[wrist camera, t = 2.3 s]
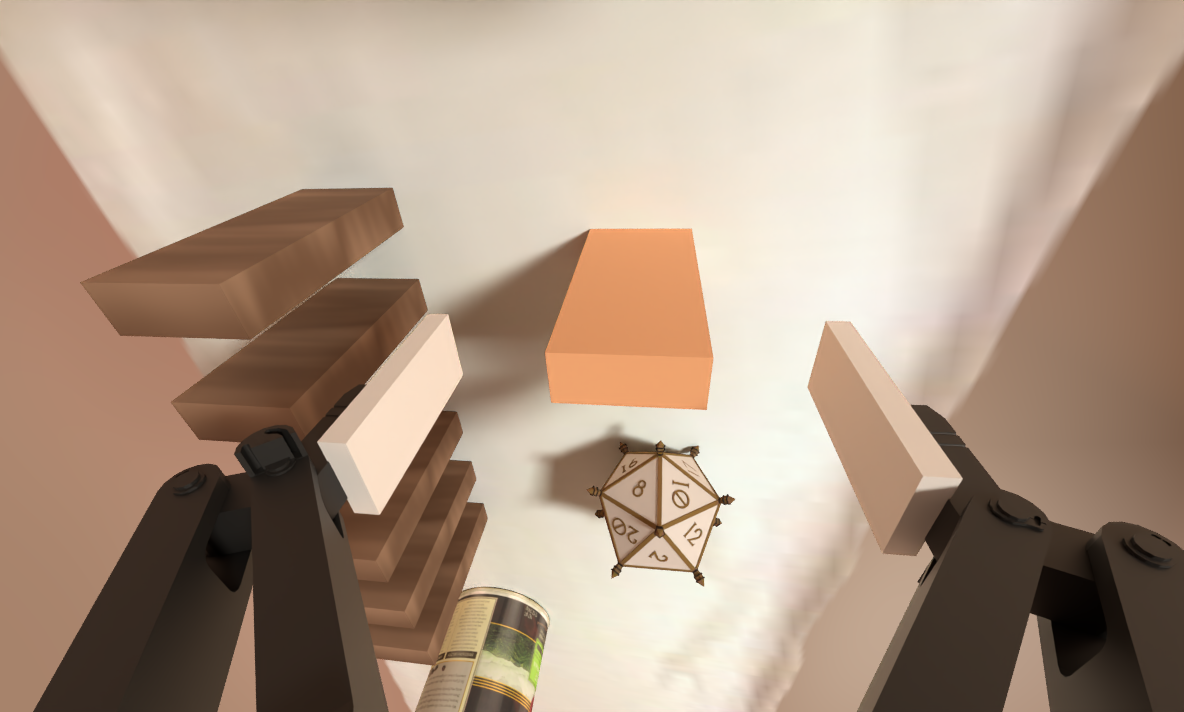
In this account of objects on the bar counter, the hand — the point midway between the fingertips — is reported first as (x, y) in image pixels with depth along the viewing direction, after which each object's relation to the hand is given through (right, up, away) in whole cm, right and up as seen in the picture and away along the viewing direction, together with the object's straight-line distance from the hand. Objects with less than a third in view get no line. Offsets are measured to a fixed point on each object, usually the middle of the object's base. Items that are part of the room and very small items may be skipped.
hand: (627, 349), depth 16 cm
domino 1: (-14, +7, +7) cm, 17 cm away
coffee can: (-11, -27, +31) cm, 43 cm away
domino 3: (-13, -5, +16) cm, 21 cm away
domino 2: (-13, +3, +10) cm, 17 cm away
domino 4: (-13, -9, +19) cm, 24 cm away
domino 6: (+1, +5, +7) cm, 9 cm away
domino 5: (-13, -13, +22) cm, 28 cm away
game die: (+3, -7, +15) cm, 17 cm away
